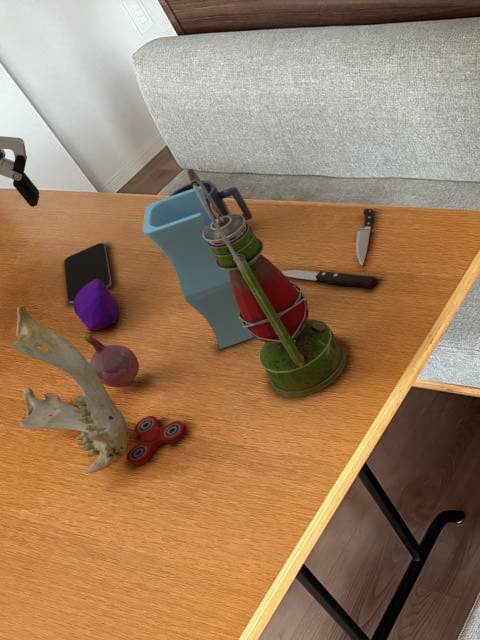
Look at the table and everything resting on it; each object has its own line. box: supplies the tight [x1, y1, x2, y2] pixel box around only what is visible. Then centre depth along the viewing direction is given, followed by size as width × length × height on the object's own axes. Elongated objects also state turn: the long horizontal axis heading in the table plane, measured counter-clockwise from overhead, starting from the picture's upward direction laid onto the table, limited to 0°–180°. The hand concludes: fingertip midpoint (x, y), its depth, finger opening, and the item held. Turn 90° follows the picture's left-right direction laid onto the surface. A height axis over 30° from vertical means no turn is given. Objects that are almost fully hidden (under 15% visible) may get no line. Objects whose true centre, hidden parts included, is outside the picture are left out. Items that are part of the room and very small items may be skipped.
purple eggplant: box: [72, 278, 119, 332], centre depth 126 cm, size 5×5×15 cm
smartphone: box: [63, 242, 113, 304], centre depth 136 cm, size 7×1×15 cm
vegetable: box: [82, 333, 140, 388], centre depth 110 cm, size 6×6×10 cm
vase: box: [142, 186, 255, 350], centre depth 110 cm, size 8×8×20 cm
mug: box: [168, 179, 253, 222], centre depth 132 cm, size 11×8×9 cm
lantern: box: [186, 168, 347, 398], centre depth 97 cm, size 14×11×30 cm
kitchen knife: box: [280, 269, 378, 289], centre depth 120 cm, size 18×1×2 cm
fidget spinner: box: [126, 415, 187, 466], centre depth 104 cm, size 8×7×1 cm
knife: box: [355, 208, 374, 267], centre depth 125 cm, size 15×1×2 cm
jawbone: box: [10, 305, 130, 474], centre depth 104 cm, size 25×18×10 cm
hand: (3, 214), depth 113 cm, fingers open, 9 cm apart
